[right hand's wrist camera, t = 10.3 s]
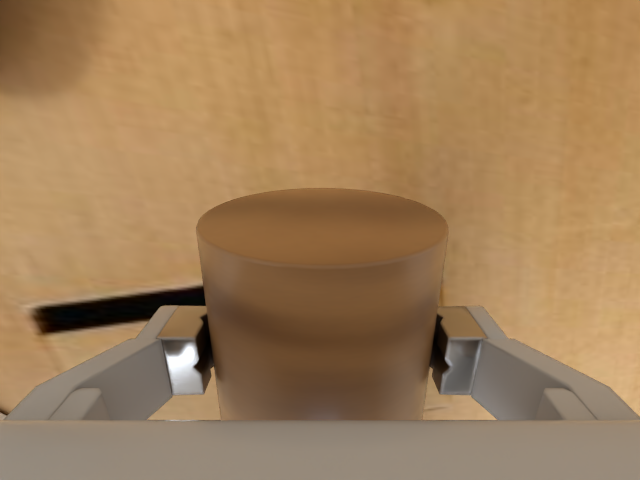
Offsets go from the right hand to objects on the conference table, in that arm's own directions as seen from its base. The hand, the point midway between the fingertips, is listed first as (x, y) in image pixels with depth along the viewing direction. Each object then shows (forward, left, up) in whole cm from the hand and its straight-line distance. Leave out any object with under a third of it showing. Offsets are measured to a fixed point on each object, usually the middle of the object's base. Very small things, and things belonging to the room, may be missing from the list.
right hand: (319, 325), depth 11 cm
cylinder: (+8, -6, -3) cm, 10 cm away
